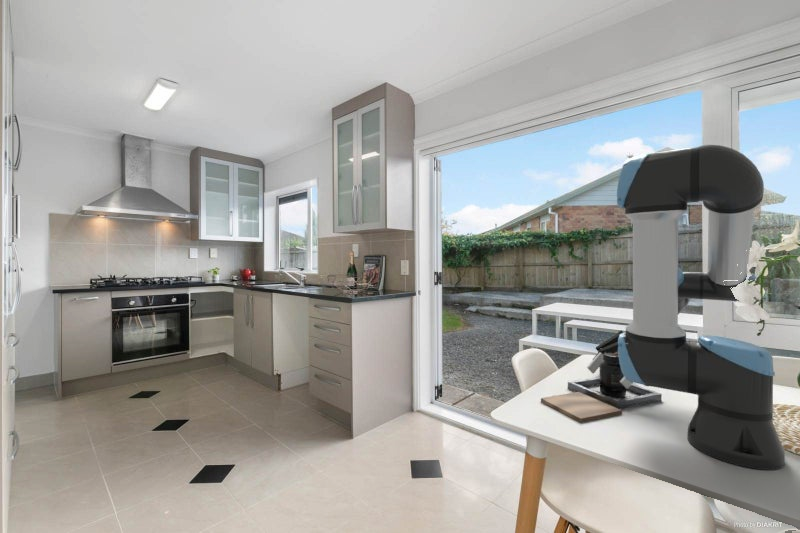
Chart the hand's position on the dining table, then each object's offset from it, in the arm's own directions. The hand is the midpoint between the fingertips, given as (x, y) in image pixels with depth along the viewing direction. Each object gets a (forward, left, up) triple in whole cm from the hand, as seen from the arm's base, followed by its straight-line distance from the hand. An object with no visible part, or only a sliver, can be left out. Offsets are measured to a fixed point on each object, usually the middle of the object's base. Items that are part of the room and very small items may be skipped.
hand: (605, 377), depth 108 cm
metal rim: (0, -2, -5) cm, 6 cm away
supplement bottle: (0, -2, -5) cm, 6 cm away
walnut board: (-4, +15, -5) cm, 16 cm away
